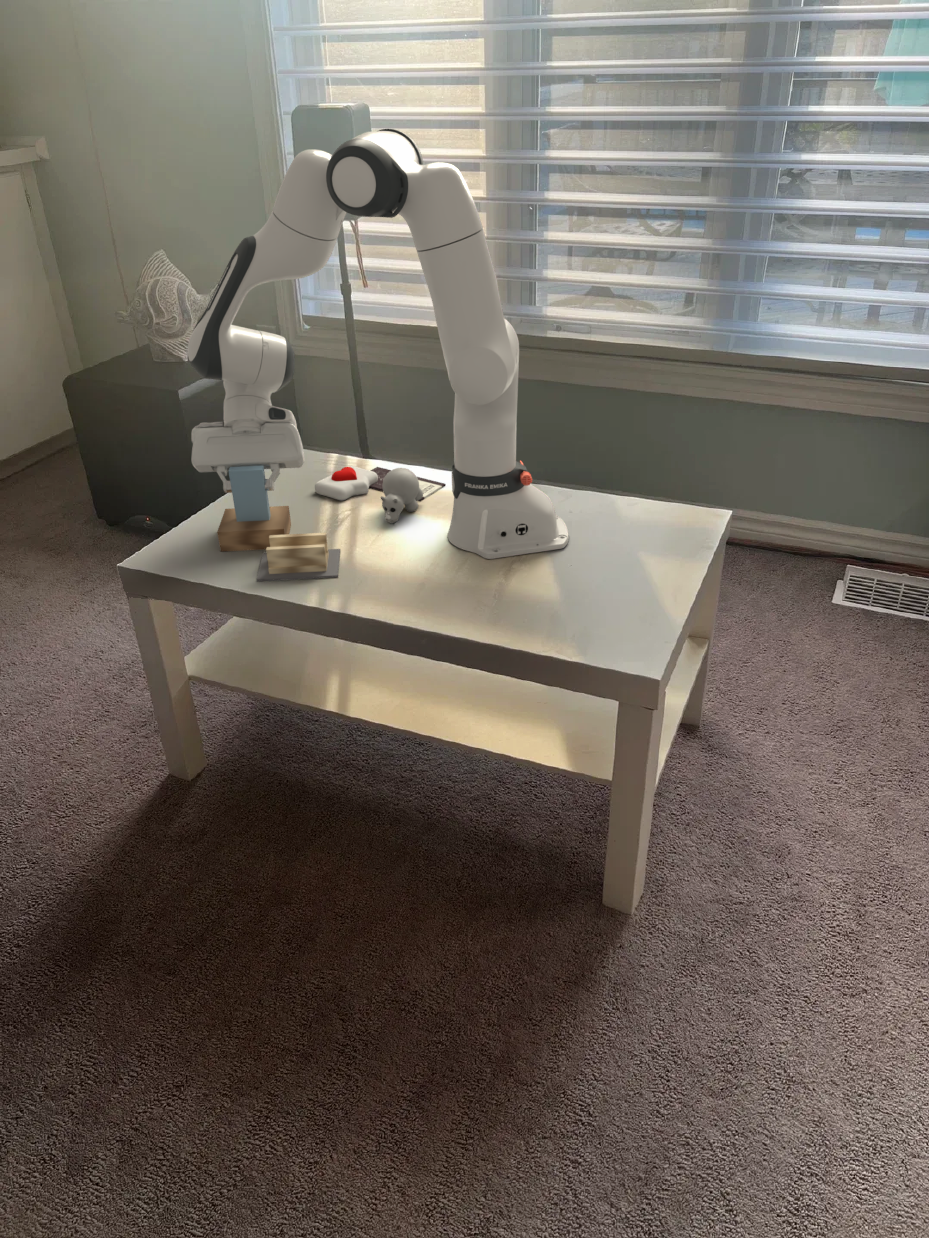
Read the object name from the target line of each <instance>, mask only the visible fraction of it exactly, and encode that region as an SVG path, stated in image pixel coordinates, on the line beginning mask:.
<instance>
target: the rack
mask: <svg viewBox="0 0 929 1238" xmlns="http://www.w3.org/2000/svg"><path fill="white" fill-rule="evenodd" d="M327 538H328V537H327V532H311V533H310V532H309V533H289V534H286V535H270V536H269V542H270V547H267V548H266V549H265V551H266V553H267V560H268V566H269V569H268V570H269V574H280V573H300V572H319V571H327V564H328V556H329V551H328V549H329V547H328V539H327Z"/></svg>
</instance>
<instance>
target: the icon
mask: <svg viewBox="0 0 929 1238" xmlns="http://www.w3.org/2000/svg"><path fill="white" fill-rule="evenodd" d="M377 481H378V475H377V474H376V473H375V472H373V471H371V470H369V469H365V468H361V467H358V466H354V465H349V466H344V467H342V468H341V469H340V470H335V471H334V472H333V473H332V474H330V475H328V476H326V477H324V478H322V479H320V480H318V481H317V482H315V484H314V491H315V493H316V494H318V495H320V496H323V497H327V498H329V499H333V500H337V501H345V500H347V499H350V498H351V497H354V496H361V495H365V494H366V495H367V494H368V492H369V489H370V488H369V486H370V485H372V484H374V483H376V482H377Z"/></svg>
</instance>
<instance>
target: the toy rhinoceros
mask: <svg viewBox="0 0 929 1238" xmlns="http://www.w3.org/2000/svg"><path fill="white" fill-rule="evenodd" d="M390 470H391V471H390V472H389V473H388V474H387V475H386V476H385V478H384V480H383V491H382V492H383V495H384V496H380V500H381V501H382V502H381V507H382V509H383V511H384V520H385V521H386V522H387V523H389V524H395V523H397V522H398V521H399V518H400V514H401V512H402V511H403V510H404V508H405V511H407V512H409V513H413V512H415V511H417V509H418V508H419V503H418V502H419V501H418V500H420V499H421V498H422V497H423V492H422V490H421V489H420V487H419V481H418V478H417V477H418V476H417V475H416V474H415V473H414V472H413V471H412V470H410V469H409V468H405V467H396V468H394V469H390Z"/></svg>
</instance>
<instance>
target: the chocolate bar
mask: <svg viewBox="0 0 929 1238" xmlns="http://www.w3.org/2000/svg"><path fill="white" fill-rule="evenodd" d="M391 470H392V469H387V468H383V467H380V466H376V467H374V468H372V469H370V471H373V472H375V473H376V474H377V475H378V481H377V482H376V483H374V484H372V485H370V486H369V489H373V490H376V491H380V492H383V480H384V478H385V476H386V475H387V474H388V473H389V472H390V471H391ZM416 477H417V478H418V481H419V487H420V489H421V490H422V492H423V497H422V498H421V499H420V500H418V501H417V502H422V501H424V500H425V499H427V498H428V497H430V496H432V495H433V494H435V493H437V492H438V491H440V490H441V489H444V488H445V487H446V483H445V482H441V481H440V482H439V481H436V480H432V479H427V478H423V477H420V476H416Z"/></svg>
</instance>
